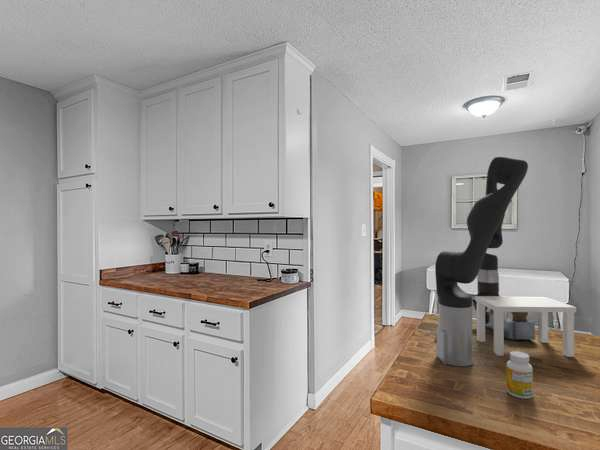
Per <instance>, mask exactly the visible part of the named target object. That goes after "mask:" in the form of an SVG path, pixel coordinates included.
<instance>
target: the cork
mask: <svg viewBox="0 0 600 450" xmlns="http://www.w3.org/2000/svg"><path fill="white" fill-rule="evenodd" d="M510 313H511V315H512V319H511V320H521V321H526V320H527V321H528V319H527V316H528V315H529V312H510ZM519 340H522V341H523V340H524V341H528V340H527V339H519Z"/></svg>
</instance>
